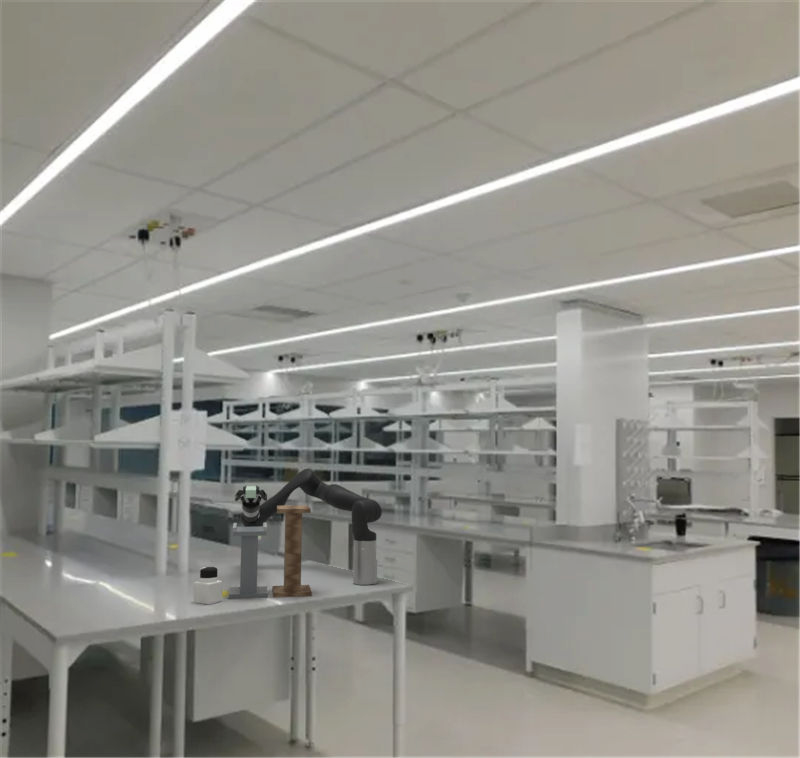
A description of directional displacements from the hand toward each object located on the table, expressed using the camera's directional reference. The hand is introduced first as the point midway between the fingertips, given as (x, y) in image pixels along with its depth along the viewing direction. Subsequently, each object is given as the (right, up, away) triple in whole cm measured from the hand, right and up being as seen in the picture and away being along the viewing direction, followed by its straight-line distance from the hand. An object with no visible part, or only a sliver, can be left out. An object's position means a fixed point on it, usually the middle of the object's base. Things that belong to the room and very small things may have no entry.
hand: (251, 487), depth 305 cm
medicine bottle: (-7, -34, -43) cm, 56 cm away
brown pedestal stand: (+21, -36, -27) cm, 49 cm away
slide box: (+1, -2, -5) cm, 5 cm away
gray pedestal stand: (+5, -35, -30) cm, 47 cm away
